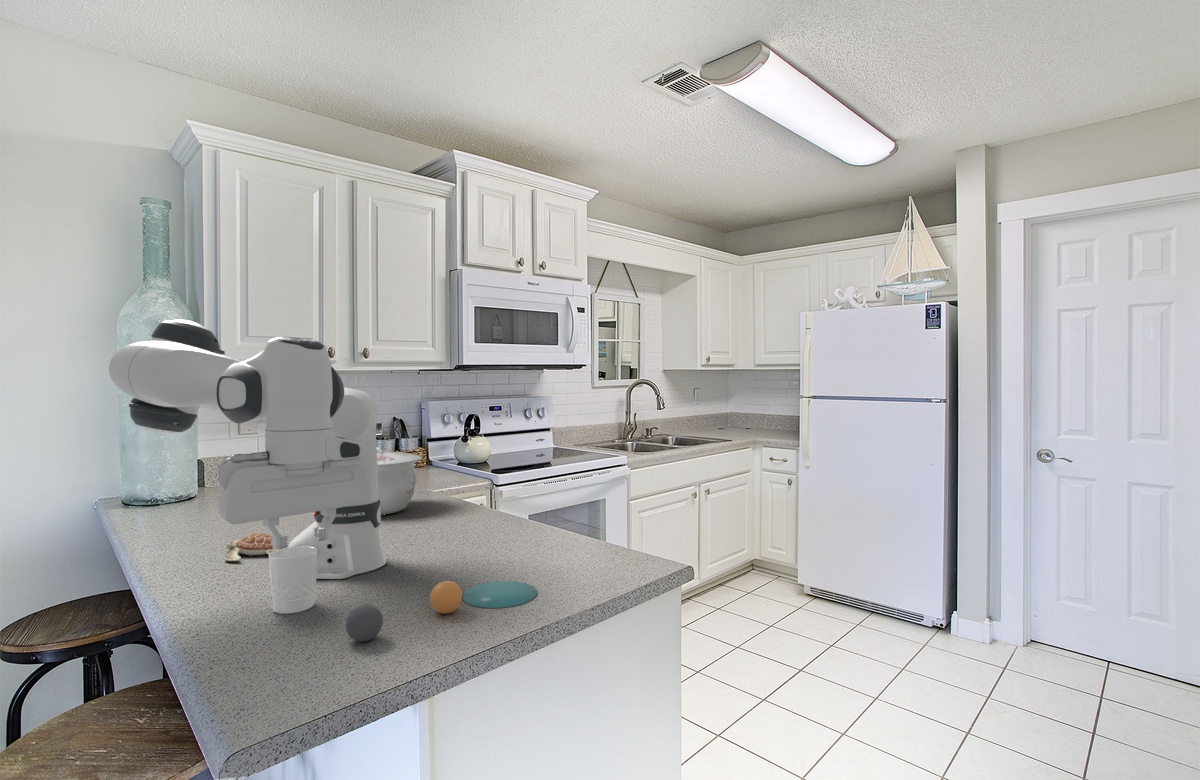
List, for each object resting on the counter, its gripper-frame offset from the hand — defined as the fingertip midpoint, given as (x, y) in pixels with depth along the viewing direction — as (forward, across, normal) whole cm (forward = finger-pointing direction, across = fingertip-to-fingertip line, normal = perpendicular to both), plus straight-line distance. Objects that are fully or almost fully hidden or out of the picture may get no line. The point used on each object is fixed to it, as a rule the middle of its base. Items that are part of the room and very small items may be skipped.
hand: (300, 543), depth 88 cm
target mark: (+17, +36, 0) cm, 40 cm away
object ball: (+14, +24, 0) cm, 28 cm away
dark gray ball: (+14, +10, 0) cm, 17 cm away
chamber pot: (+18, +58, +88) cm, 107 cm away
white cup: (+17, +8, +23) cm, 30 cm away
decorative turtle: (+18, +17, +66) cm, 71 cm away
